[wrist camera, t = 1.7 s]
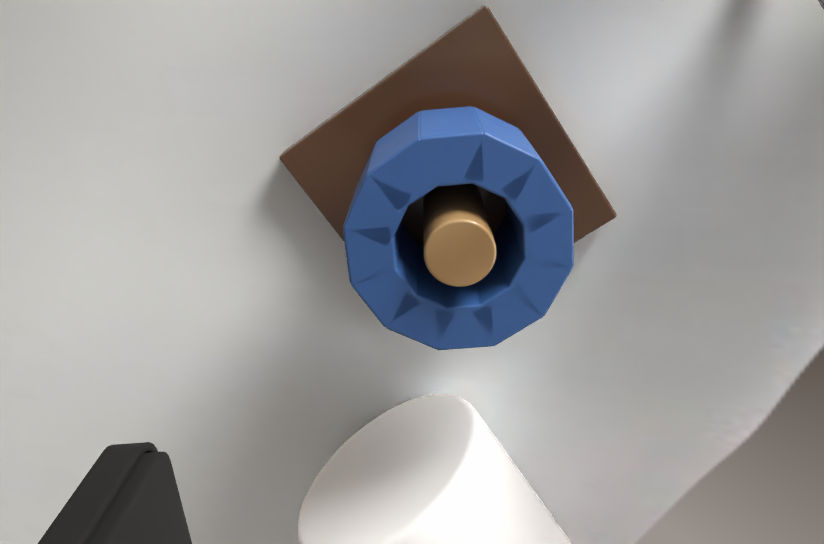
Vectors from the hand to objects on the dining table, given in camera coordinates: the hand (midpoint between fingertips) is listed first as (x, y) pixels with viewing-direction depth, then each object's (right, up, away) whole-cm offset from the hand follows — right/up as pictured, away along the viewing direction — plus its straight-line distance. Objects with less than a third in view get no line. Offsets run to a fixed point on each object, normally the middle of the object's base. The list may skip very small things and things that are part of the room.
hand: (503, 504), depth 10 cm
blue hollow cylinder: (0, +6, +14) cm, 15 cm away
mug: (0, -7, +22) cm, 23 cm away
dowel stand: (0, +7, +17) cm, 18 cm away
